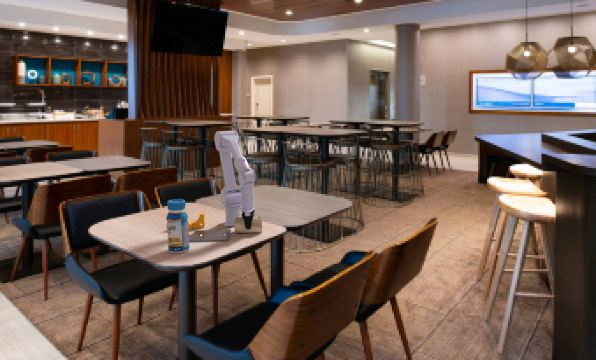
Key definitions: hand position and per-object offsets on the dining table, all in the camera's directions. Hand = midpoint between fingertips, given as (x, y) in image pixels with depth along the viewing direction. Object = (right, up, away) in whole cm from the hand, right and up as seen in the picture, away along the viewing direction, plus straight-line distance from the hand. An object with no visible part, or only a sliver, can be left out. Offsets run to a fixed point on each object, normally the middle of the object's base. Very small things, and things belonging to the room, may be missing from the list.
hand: (248, 227), depth 198 cm
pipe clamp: (-27, -1, +7) cm, 28 cm away
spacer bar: (0, -2, 0) cm, 2 cm away
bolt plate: (-16, -3, -5) cm, 17 cm away
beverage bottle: (-25, -7, -22) cm, 34 cm away
